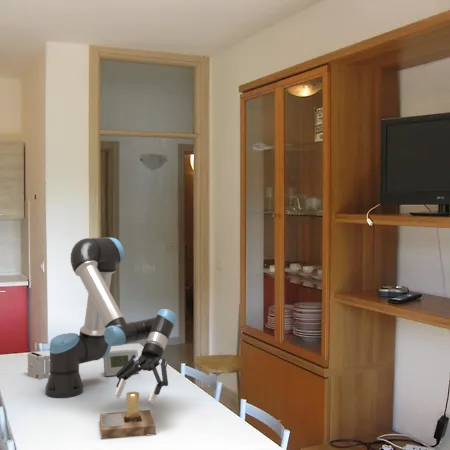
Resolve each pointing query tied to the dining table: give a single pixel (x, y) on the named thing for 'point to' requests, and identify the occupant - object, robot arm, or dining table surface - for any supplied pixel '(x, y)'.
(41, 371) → the grey slotted box
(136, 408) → the pin
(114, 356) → the digital clock
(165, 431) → the dining table surface
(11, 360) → the dining table surface
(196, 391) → the dining table surface
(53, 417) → the dining table surface
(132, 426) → the brown block with recess
